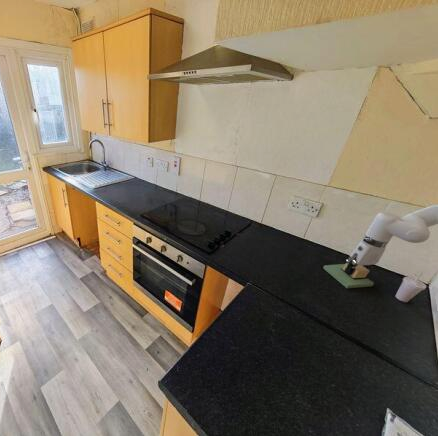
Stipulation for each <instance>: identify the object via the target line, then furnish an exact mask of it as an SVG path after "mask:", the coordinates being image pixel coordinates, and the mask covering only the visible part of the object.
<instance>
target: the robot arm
mask: <svg viewBox="0 0 438 436" xmlns="http://www.w3.org/2000/svg"><path fill="white" fill-rule="evenodd" d="M435 225H438V204H433V205H428V206H425V207H423V208H421V209H418V210H415V211H413V212H410V213H408V214H406V215H404V216H402V217H401V216H399V215H397V214H395V213H391V212H379V213H378V214H376V215H375V217H374V219H373V220H372V222H371V224H370V225H369V227H368V229H367V231H366V232H365V234H363V237H362V239H361V241H360V242H359V243H358V244H357V246H356V247H355V248H354V249H353V251H352V252H351V254H350V256H349V257H348V258H347V259H345V261H346V263H347V264H348V265H347V267H346V269H345V271H344V272H345V273H346V274H347V275H349V276H350V275H352V274H353V272H354V271H355V267H356V266H357V265H362V266H364V267H365V268H366V269H368V270H369V268H371V266H372V265H377V264H378V263H379V261H380V260H381V258H382V257H383V254H384V252H385V251H386V248H387V245H388V244H389V242H390V241H391V239H392V238H393V237H396V238H398V239H400V240H402V241H405V242H408V243H412V244H419V243H424V242H426V241H427V240H428V239H429V238H430V236H431V233H430V229H429V228H430V227H433V226H435ZM353 262H355V264H354V265H353Z"/></svg>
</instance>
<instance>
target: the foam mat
mask: <svg viewBox="0 0 438 436" xmlns="http://www.w3.org/2000/svg"><path fill="white" fill-rule="evenodd" d="M345 264H346V263H340V264H326V265H323V268H322V269H324V271H326V272H327V273H328V274H329V275H330V276H332V278H334V279H335V280H336V281H337V282H339V283H340V284H341V285H342V286H343V287H344V288H346V289H355V288H365V287H366V288H367V287H373V286H374V284H375V282H373V281H372V280H370V279H369V278H357V279H355V278H353V277H352V276H350V275H349V274H348V273H346V272H345V271H344V270H343V267H344V266H345Z"/></svg>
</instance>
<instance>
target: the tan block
mask: <svg viewBox="0 0 438 436" xmlns="http://www.w3.org/2000/svg"><path fill="white" fill-rule="evenodd" d="M344 264H345V266H344V267H343V270H344V272H345V269H346V267H347V265H348V264H347V262H345V263H344ZM354 264H355V262H353V265H354ZM369 273H370V270H369V268H368V269H366V268H365V267H364V266H362V265H357V266H356V267H355V271H354V272H353V274H352V275H349V276H350V277H351V278H353V279H365V278H366V277H367V276H368V274H369Z"/></svg>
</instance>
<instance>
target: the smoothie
mask: <svg viewBox="0 0 438 436" xmlns="http://www.w3.org/2000/svg"><path fill="white" fill-rule="evenodd" d="M422 275H423V272H420V273H419V274H418V275H417V276H416V277H412V276H404V277H403V278H402V282H401V284H400V286H399V288H398V289H397V291H396V294H395V295H394V297H395V298H396V299H397V300H399V301H401V302H403V303H408V302H409V301H410V300H411V299H413V298H414V297H415V296H417V295H419V293H420V292H422V291H424V290H426V288H427V285H426V283H424V282H423V281H422V280H419V278H420V277H421V276H422Z"/></svg>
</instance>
